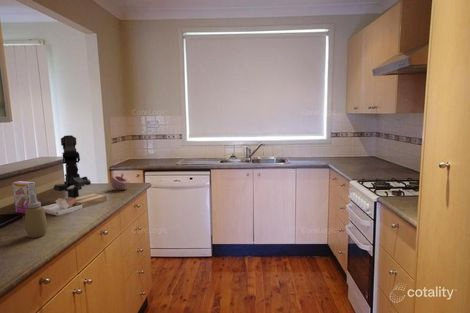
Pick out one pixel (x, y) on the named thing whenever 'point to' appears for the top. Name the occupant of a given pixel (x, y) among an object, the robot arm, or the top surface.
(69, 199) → the tile terracotta
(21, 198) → the candy bar box
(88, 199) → the thick wooden platform
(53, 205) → the tray
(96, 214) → the top surface
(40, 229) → the squeeze bottle
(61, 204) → the tile cream
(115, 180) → the mortar and pestle
